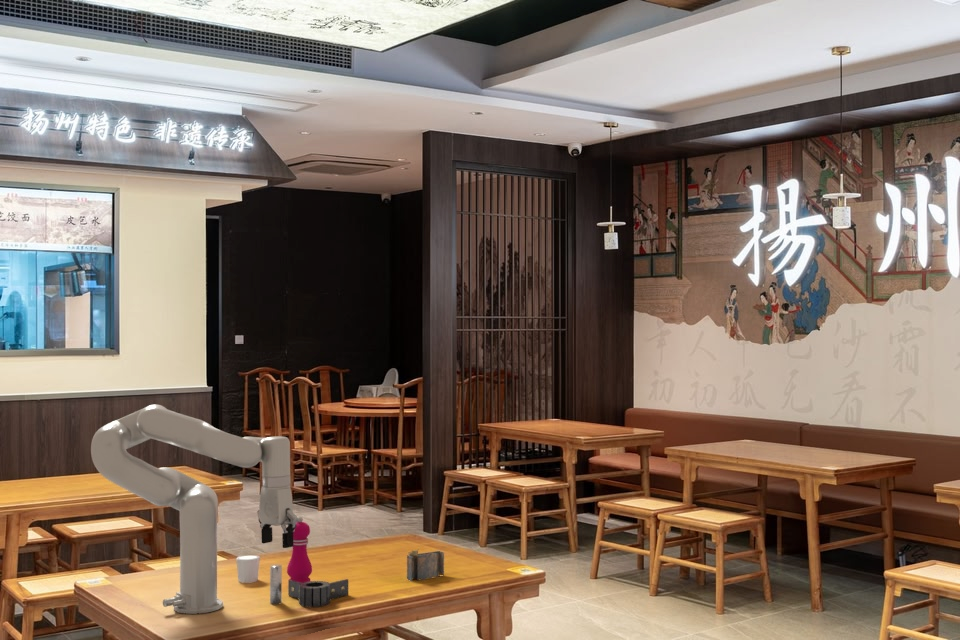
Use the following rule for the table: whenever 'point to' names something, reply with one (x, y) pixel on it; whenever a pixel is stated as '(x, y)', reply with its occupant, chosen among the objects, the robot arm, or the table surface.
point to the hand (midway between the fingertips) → (277, 544)
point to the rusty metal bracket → (425, 564)
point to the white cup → (248, 568)
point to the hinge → (317, 592)
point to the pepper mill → (300, 554)
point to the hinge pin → (275, 584)
